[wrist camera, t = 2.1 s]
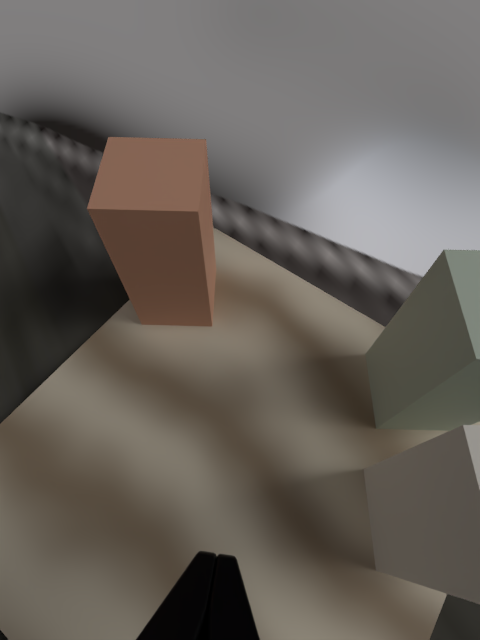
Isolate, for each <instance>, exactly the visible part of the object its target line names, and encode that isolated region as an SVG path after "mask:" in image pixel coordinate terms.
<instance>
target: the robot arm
mask: <svg viewBox="0 0 480 640" xmlns="http://www.w3.org/2000/svg"><path fill="white" fill-rule="evenodd" d="M136 640H260V638H259V635H258V631H257V628H256V624H255V621H254V617H253V614H252V610H251V607H250V603H249V600H248V596H247V593H246V589H245V586H244V582H243V579H242V575H241V572H240V569H239V565H238V562H237V559H236V557H235V556H233V555H226V554H218V556H216V554H215V553H213V552H207V551H199V552H198V553H197V554H196V555H195V556H194V558H193V559H192V561H191V562H190V563H189V565H188V566H187V568H186V569H185V571H184V572H183V573H182V575H181V576H180V578H179V579H178V580H177V582H176V583H175V585H174V586H173V588H172V589H171V590H170V592H169V593H168V595H167V596H166V597H165V599H164V600H163V602H162V603H161V605H160V606H159V607H158V609H157V610H156V612H155V613H154V614H153V616H152V617H151V619H150V620H149V622H148V623H147V624H146V626H145V627H144V629H143V630H142V631H141V633H140V634H139V636H138V637H137V639H136Z"/></svg>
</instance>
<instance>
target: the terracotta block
mask: <svg viewBox="0 0 480 640" xmlns="http://www.w3.org/2000/svg"><path fill="white" fill-rule="evenodd" d="M87 210H88V212H89V214H90V216H91V218H92V220H93V222H94V224H95V227H96V229H97V231H98V233H99V235H100V237H101V239H102V241H103V243H104V246H105V248H106V250H107V252H108V254H109V256H110V258H111V260H112V263H113V265H114V267H115V269H116V271H117V273H118V275H119V277H120V280H121V282H122V284H123V286H124V288H125V290H126V292H127V294H128V296H129V299H130V301H131V303H132V305H133V307H134V309H135V311H136V313H137V316H138V318H139V320H140V322H141V324H142V325H175V326H212V324H213V309H214V295H215V280H216V259H215V247H214V234H213V221H212V209H211V196H210V184H209V172H208V158H207V147H206V139H168V138H127V137H109V138H108V141H107V144H106V148H105V151H104V154H103V157H102V161H101V164H100V167H99V171H98V174H97V177H96V181H95V184H94V187H93V191H92V194H91V197H90V201H89V204H88V207H87Z"/></svg>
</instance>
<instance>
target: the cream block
mask: <svg viewBox="0 0 480 640" xmlns="http://www.w3.org/2000/svg"><path fill="white" fill-rule="evenodd" d="M363 470H364V478H365V486H366V494H367V502H368V510H369V518H370V527H371V535H372V543H373V551H374V559H375V567H376V571H378V572H382V573H385V574H388V575H391V576H394V577H397V578H400V579H403V580H406V581H409V582H412V583H415V584H419V585H422V586H425V587H428V588H431V589H434V590H437V591H440V592H443V593H446V594H449V595H452V596H456V597H459V598H462V599H465V600H468V601H471V602H474V603H477V604H480V425H462V426H459V427H457V428H455V429H453V430H450V431H448V432H446V433H444V434H441V435H439V436H437V437H435V438H432V439H430V440H428V441H426V442H423V443H421V444H419V445H417V446H414V447H412V448H410V449H408V450H405V451H403V452H401V453H399V454H396V455H394V456H392V457H390V458H387V459H385V460H383V461H381V462H378V463H376V464H374V465H372V466H369V467H367V468H365V469H363Z"/></svg>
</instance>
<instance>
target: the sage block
mask: <svg viewBox="0 0 480 640" xmlns="http://www.w3.org/2000/svg"><path fill="white" fill-rule="evenodd" d="M365 356H366V363H367V370H368V376H369V383H370V390H371V397H372V404H373V411H374V418H375V425H376V429H404V430H440V431H450V430H453V429H455V428H457V427H459V426H462V425H472V424H475V423H477V422H479V421H480V251H477V250H443V252H442V253H441V255H440V256H439V257H438V258H437V260H436V261H435V262H434V264H433V265H432V266H431V268H430V269H429V270H428V272H427V273H426V274H425V276H424V277H423V278H422V280H421V281H420V282H419V284H418V285H417V286H416V288H415V289H414V290H413V292H412V293H411V294H410V296H409V297H408V298H407V300H406V301H405V302H404V304H403V305H402V306H401V308H400V309H399V310H398V311H397V313H396V314H395V315H394V317H393V318H392V319H391V321H390V322H389V323H388V325H387V326H386V327H385V329H384V330H383V331H382V333H381V334H380V335H379V337H378V338H377V339H376V341H375V342H374V343H373V345H372V346H371V347H370V349H369V350H368V351H367V353H366V354H365Z"/></svg>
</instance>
